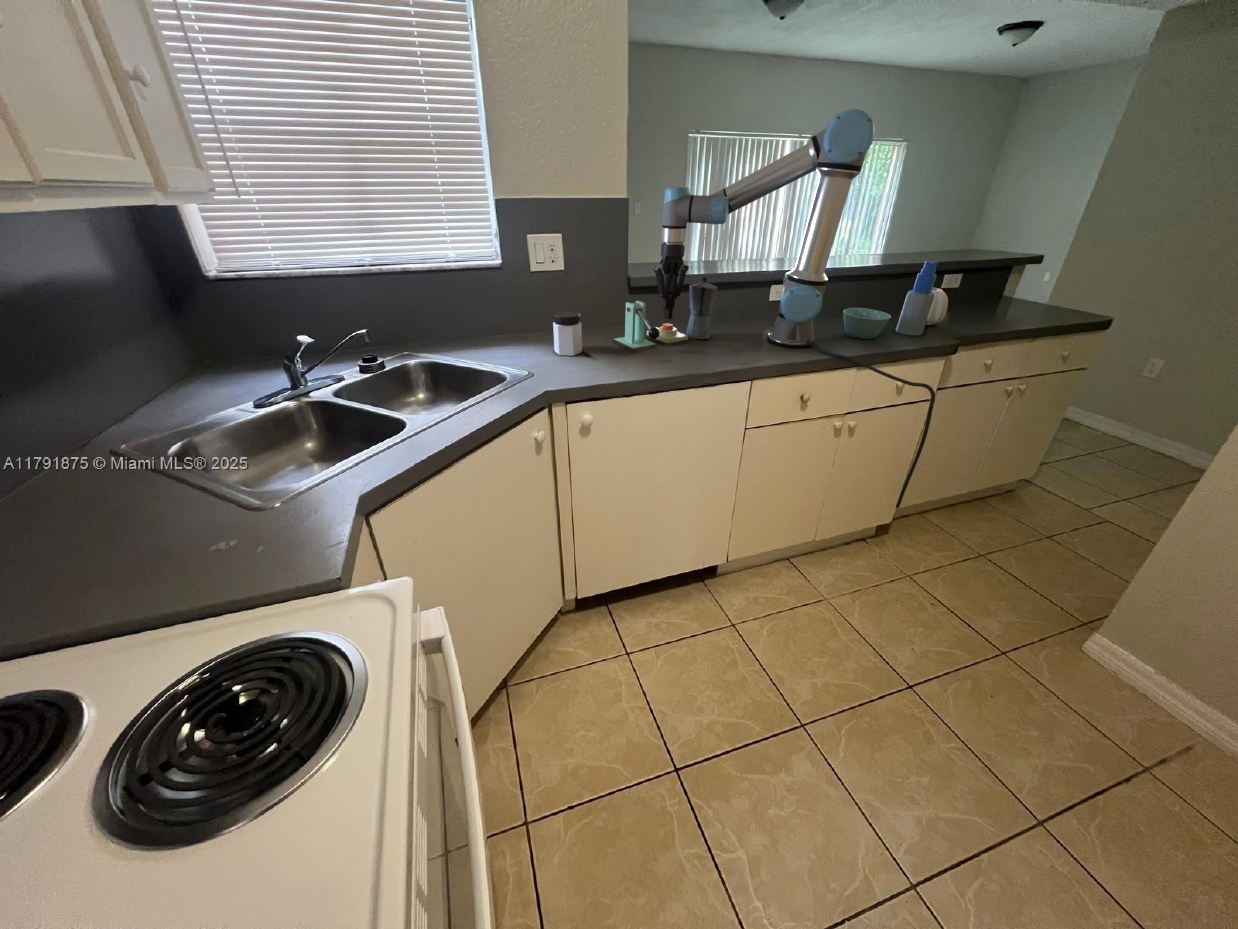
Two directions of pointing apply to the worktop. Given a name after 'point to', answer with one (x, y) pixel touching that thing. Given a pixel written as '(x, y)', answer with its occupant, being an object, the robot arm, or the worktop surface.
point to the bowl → (864, 322)
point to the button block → (670, 335)
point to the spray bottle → (918, 302)
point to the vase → (937, 307)
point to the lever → (647, 323)
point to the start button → (667, 326)
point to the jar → (567, 333)
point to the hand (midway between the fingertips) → (667, 318)
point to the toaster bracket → (634, 327)
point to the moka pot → (701, 309)
